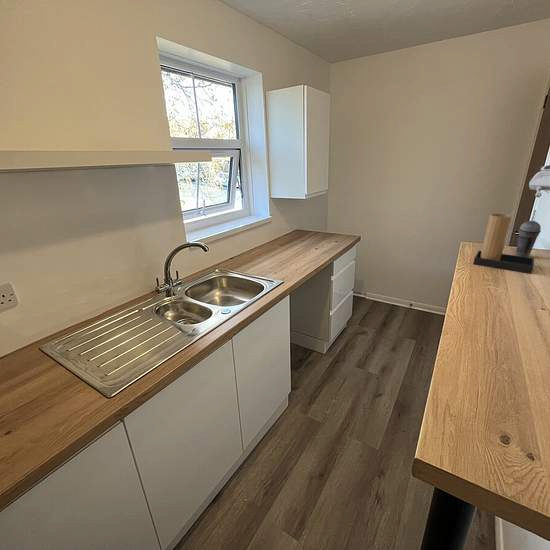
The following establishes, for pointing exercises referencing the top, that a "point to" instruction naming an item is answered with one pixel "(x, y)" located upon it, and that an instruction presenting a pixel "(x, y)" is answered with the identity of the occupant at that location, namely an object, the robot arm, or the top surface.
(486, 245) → the wooden cylinder
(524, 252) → the beverage cup
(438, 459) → the top surface
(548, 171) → the robot arm
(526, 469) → the top surface
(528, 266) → the tray
